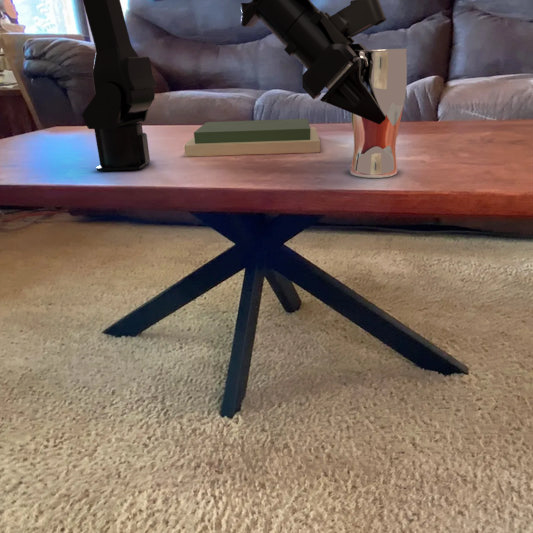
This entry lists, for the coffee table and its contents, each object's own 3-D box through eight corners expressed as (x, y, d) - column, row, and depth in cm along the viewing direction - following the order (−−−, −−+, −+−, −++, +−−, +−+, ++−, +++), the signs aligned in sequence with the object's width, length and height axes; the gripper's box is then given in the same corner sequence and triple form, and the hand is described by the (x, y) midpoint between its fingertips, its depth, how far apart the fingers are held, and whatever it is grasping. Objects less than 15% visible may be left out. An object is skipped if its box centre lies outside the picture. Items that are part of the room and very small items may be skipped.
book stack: (185, 156, 83) (183, 134, 82) (201, 140, 98) (199, 121, 97) (320, 152, 82) (320, 129, 81) (315, 136, 97) (315, 117, 96)
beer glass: (399, 167, 70) (406, 48, 64) (402, 179, 63) (411, 48, 58) (347, 167, 71) (350, 50, 65) (345, 178, 65) (348, 50, 59)
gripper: (332, -45, 51) (438, 70, 52) (356, -23, 67) (436, 64, 68) (260, 45, 56) (358, 147, 57) (299, 45, 72) (374, 124, 74)
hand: (385, 117), depth 64 cm, fingers open, 8 cm apart
